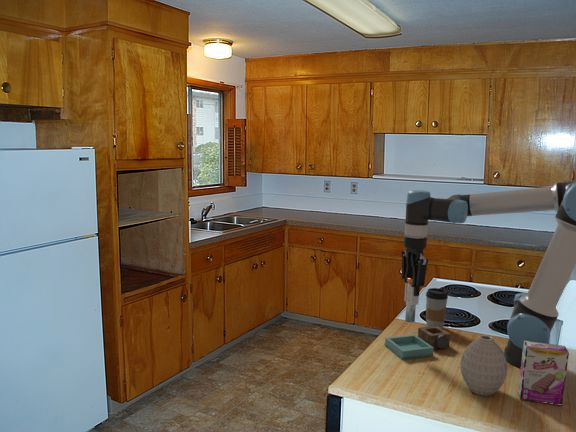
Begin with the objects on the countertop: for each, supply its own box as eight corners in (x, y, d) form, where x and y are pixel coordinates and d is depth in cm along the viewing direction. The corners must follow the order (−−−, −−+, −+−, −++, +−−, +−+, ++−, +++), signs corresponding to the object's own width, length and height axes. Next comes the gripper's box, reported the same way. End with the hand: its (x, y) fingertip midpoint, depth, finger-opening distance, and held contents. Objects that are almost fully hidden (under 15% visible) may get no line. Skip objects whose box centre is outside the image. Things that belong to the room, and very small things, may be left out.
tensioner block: (451, 348, 181) (453, 335, 180) (432, 351, 179) (433, 337, 178) (436, 338, 190) (437, 325, 189) (417, 340, 188) (418, 327, 187)
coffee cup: (429, 322, 207) (431, 286, 205) (449, 327, 202) (451, 290, 200) (420, 327, 201) (422, 290, 199) (440, 333, 196) (443, 295, 193)
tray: (433, 355, 175) (433, 347, 174) (402, 359, 171) (402, 351, 171) (414, 342, 186) (414, 334, 186) (385, 345, 183) (385, 337, 182)
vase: (512, 391, 151) (517, 338, 149) (492, 406, 143) (498, 350, 140) (471, 376, 160) (475, 325, 158) (450, 389, 152) (454, 336, 149)
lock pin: (417, 322, 176) (420, 279, 174) (408, 323, 175) (410, 280, 172) (411, 318, 179) (414, 276, 177) (402, 319, 178) (405, 277, 176)
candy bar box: (520, 400, 146) (525, 346, 144) (517, 392, 151) (522, 339, 148) (563, 407, 143) (569, 351, 141) (559, 398, 148) (565, 344, 145)
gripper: (439, 240, 166) (434, 309, 170) (412, 231, 181) (408, 294, 185) (419, 241, 164) (414, 311, 167) (393, 231, 179) (389, 296, 183)
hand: (411, 302), depth 176 cm, fingers closed on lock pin, 3 cm apart
